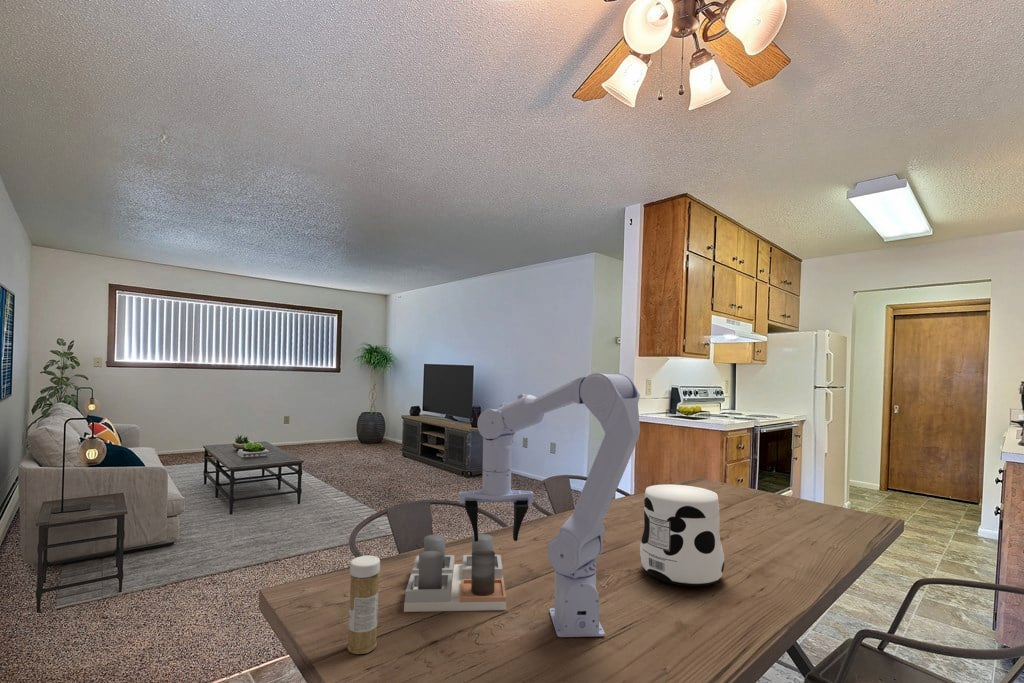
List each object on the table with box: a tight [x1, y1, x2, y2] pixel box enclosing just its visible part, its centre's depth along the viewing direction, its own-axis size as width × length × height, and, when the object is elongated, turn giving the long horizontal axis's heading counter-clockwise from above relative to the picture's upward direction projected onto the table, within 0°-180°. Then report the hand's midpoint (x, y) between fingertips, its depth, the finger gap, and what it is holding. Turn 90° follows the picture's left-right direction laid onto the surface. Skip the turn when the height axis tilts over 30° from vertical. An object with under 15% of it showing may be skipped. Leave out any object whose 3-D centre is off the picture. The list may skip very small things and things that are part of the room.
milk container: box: [639, 484, 725, 587], centre depth 110 cm, size 17×17×18 cm
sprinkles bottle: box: [347, 555, 381, 655], centre depth 80 cm, size 5×5×14 cm
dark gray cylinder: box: [471, 549, 496, 596], centre depth 97 cm, size 4×4×7 cm
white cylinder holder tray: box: [403, 533, 507, 613], centre depth 101 cm, size 18×18×8 cm
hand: (495, 539), depth 100 cm, fingers open, 7 cm apart
